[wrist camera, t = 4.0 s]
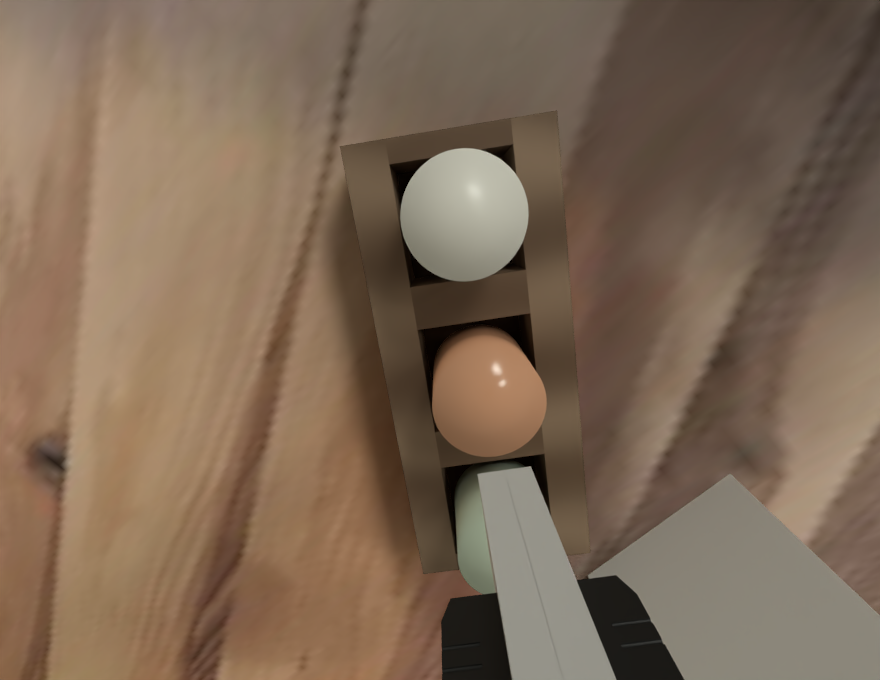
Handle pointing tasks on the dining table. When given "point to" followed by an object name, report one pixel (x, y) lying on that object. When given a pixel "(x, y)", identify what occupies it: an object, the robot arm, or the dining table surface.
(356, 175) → the wooden compartment tray
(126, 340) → the dining table surface
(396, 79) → the dining table surface
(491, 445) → the peach rounded cylinder
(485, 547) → the pale green domed cylinder
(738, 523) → the milk
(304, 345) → the dining table surface
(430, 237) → the off-white button
